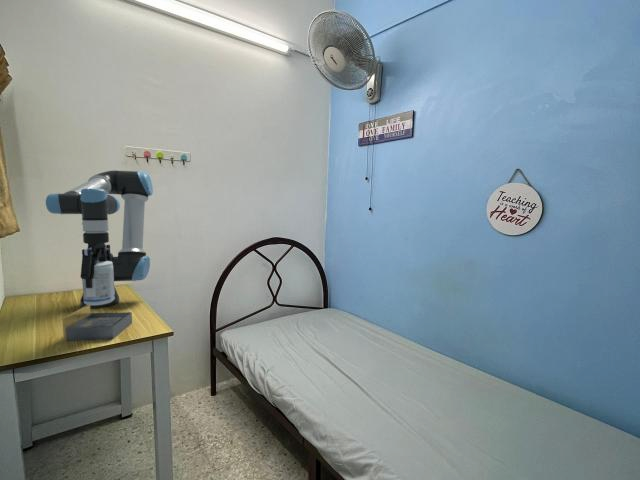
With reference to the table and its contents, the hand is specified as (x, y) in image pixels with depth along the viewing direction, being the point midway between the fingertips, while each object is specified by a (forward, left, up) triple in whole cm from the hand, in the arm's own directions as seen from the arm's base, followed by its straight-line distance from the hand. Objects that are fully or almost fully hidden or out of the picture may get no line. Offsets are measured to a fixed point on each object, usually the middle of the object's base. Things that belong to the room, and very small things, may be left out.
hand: (99, 292), depth 116 cm
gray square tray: (0, 0, -15) cm, 15 cm away
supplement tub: (0, 0, -4) cm, 4 cm away
